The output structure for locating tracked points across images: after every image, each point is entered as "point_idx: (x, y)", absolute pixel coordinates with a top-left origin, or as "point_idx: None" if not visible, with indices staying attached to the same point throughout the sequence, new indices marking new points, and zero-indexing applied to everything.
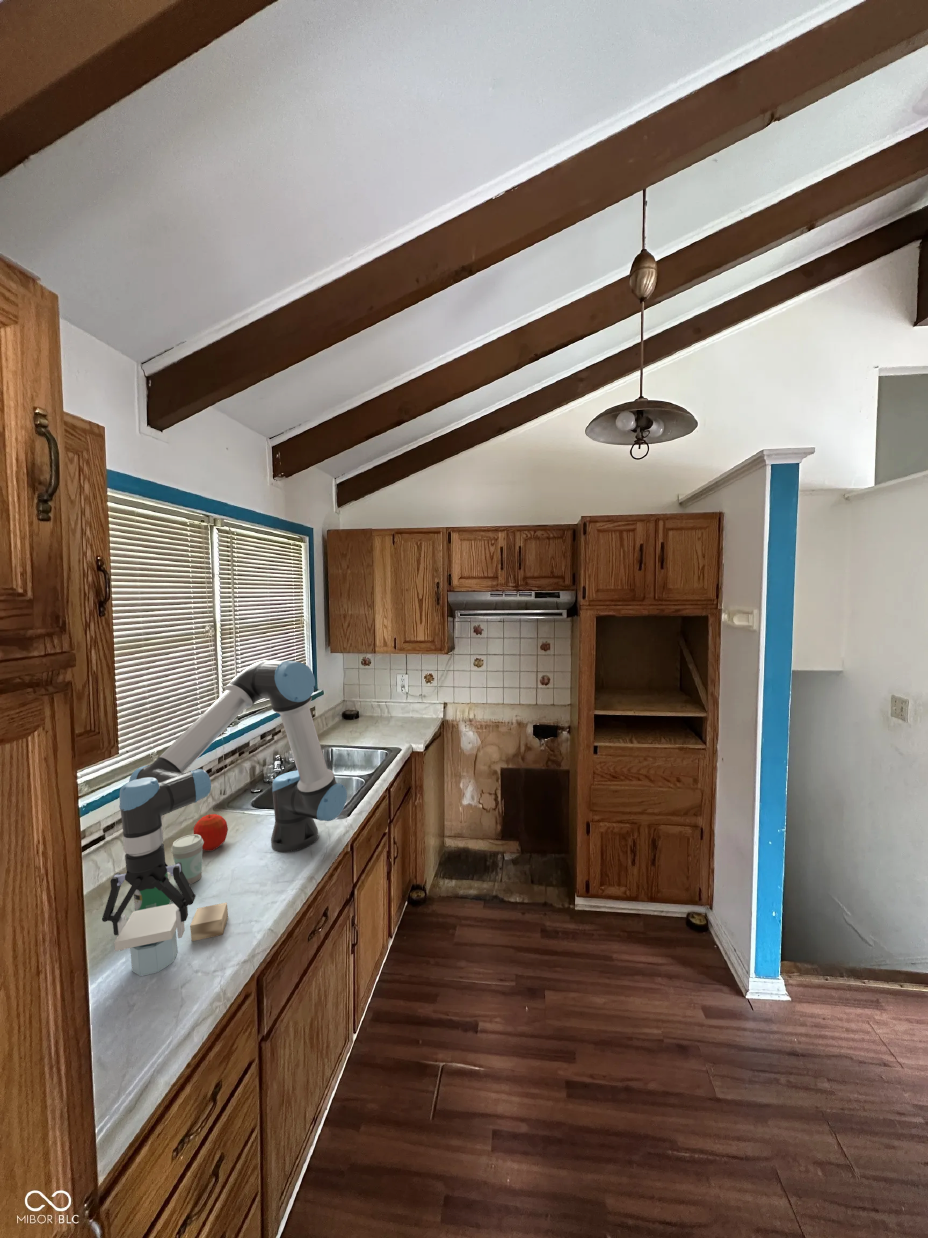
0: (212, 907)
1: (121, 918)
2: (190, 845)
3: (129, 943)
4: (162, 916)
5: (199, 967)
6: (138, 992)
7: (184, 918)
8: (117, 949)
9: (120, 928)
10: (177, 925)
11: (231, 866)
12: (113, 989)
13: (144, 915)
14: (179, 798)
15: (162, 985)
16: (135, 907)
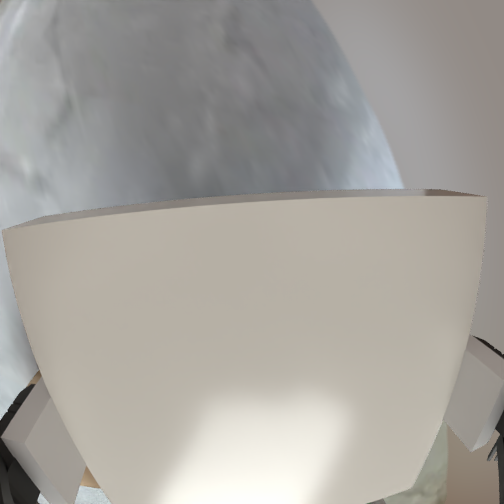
0: (94, 480)
1: (497, 418)
2: None
3: (376, 193)
4: (196, 459)
5: (37, 204)
6: (240, 107)
7: (26, 396)
8: (434, 189)
9: (480, 353)
10: None
11: None
12: (355, 161)
13: (347, 474)
14: None
15: (148, 124)
16: (382, 500)
